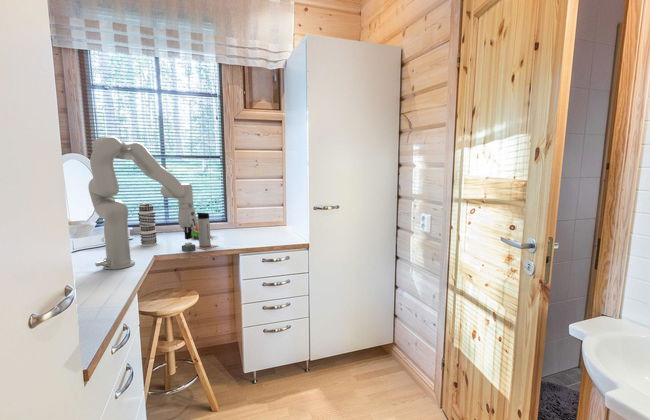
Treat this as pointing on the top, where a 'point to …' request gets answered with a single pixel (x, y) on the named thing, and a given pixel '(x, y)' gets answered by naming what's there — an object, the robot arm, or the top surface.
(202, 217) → the travel mug
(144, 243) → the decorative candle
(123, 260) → the robot arm
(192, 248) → the button base
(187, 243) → the button
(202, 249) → the picture square
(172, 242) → the top surface
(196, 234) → the turtle holder
